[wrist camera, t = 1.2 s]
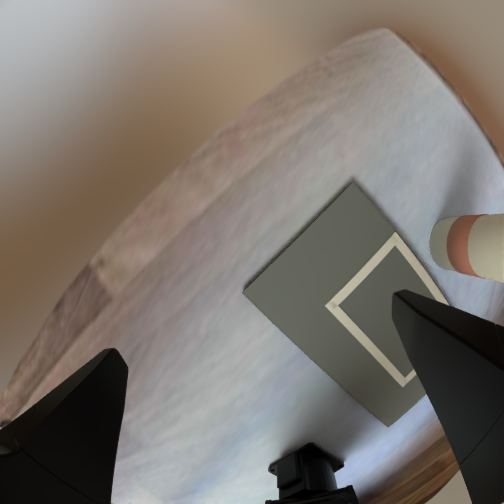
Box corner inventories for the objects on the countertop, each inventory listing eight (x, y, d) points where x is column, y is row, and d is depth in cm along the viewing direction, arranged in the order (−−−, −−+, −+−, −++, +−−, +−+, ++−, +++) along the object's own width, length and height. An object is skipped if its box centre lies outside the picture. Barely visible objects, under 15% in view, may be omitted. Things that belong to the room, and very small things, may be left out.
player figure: (473, 244, 22) (567, 252, 9) (446, 280, 22) (543, 310, 9) (448, 206, 22) (547, 193, 9) (420, 242, 22) (523, 252, 9)
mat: (469, 341, 22) (472, 342, 22) (386, 424, 24) (388, 428, 23) (350, 183, 22) (353, 182, 22) (242, 291, 24) (241, 293, 23)
